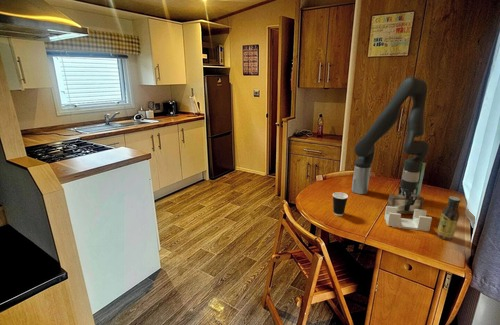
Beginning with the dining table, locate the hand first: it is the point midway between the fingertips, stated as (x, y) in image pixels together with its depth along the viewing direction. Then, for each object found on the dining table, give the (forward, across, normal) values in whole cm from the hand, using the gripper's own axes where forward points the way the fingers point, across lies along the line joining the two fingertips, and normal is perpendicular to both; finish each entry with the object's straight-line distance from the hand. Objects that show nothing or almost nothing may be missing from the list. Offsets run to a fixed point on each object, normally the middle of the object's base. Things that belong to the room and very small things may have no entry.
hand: (404, 208), depth 144 cm
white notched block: (+3, -11, +4) cm, 12 cm away
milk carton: (+4, +18, -12) cm, 22 cm away
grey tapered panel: (+2, 0, 0) cm, 2 cm away
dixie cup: (+4, 0, +34) cm, 35 cm away
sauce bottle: (+3, -22, -8) cm, 23 cm away
